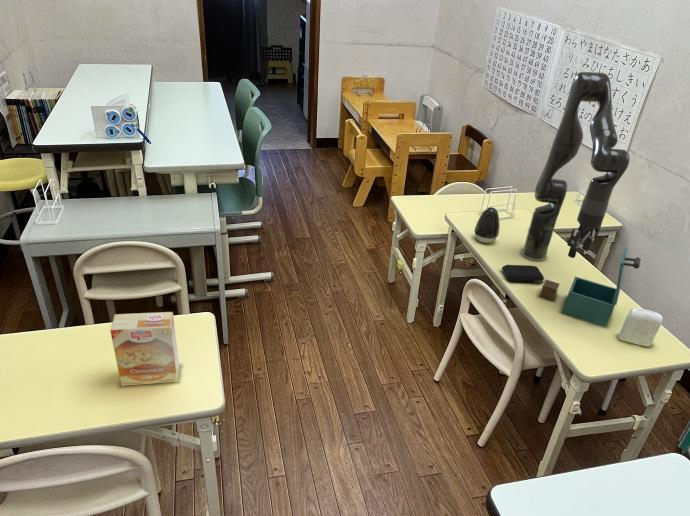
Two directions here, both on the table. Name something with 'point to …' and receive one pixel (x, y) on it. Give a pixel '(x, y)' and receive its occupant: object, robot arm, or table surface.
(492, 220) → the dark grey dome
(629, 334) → the photo printer
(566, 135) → the robot arm
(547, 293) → the block
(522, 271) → the carrying case
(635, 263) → the lid
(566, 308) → the chest
